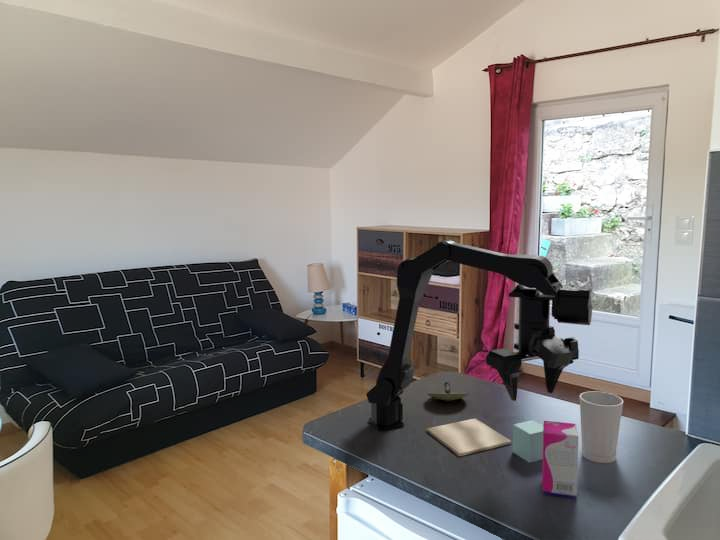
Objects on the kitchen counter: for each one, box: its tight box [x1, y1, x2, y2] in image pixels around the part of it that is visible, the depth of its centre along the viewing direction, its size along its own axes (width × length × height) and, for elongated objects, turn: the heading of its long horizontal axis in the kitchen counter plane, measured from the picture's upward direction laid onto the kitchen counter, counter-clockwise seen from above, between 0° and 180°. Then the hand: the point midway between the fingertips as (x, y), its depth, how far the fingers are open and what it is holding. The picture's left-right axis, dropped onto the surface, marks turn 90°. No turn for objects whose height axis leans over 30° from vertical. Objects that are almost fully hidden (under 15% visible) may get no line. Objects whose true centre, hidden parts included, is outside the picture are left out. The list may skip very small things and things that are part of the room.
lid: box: [426, 381, 470, 402], centre depth 137 cm, size 11×10×5 cm
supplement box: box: [541, 420, 579, 500], centre depth 95 cm, size 6×6×12 cm
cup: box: [579, 390, 624, 464], centre depth 107 cm, size 8×8×12 cm
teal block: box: [512, 419, 544, 463], centre depth 108 cm, size 5×5×6 cm
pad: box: [426, 417, 512, 457], centre depth 117 cm, size 13×13×1 cm
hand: (532, 396), depth 107 cm, fingers open, 9 cm apart
